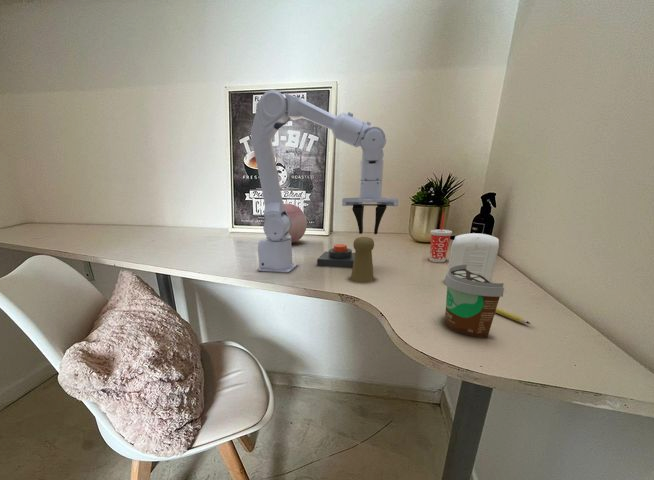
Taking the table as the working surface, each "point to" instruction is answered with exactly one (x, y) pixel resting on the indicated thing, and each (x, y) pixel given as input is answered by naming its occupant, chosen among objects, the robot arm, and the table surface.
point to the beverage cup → (439, 244)
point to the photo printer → (475, 253)
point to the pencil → (511, 316)
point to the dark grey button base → (336, 259)
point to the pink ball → (296, 222)
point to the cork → (363, 260)
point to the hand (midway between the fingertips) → (368, 233)
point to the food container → (470, 302)
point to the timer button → (340, 248)
